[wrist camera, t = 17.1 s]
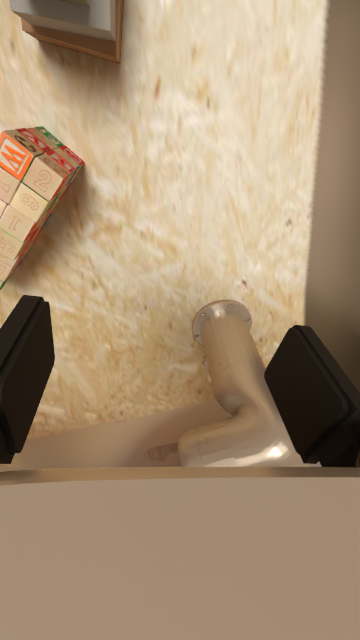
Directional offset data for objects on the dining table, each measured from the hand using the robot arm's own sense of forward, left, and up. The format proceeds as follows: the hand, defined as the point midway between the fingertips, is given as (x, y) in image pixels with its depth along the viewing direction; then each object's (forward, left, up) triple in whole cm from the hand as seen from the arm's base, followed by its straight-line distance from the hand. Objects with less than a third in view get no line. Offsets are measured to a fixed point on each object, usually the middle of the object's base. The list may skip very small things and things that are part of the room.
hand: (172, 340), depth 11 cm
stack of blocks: (-8, +18, -37) cm, 42 cm away
